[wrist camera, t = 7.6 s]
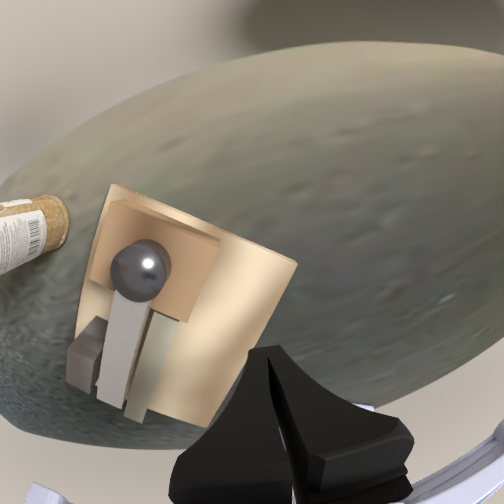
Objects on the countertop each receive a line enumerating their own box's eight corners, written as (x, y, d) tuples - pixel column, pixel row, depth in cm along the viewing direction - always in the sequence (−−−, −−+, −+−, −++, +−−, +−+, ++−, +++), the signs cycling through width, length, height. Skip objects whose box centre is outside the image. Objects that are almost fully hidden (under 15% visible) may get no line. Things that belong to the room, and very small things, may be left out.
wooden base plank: (294, 260, 20) (319, 290, 14) (206, 420, 23) (204, 467, 17) (116, 183, 18) (74, 185, 12) (75, 366, 21) (49, 404, 15)
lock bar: (131, 230, 15) (118, 237, 13) (178, 250, 15) (171, 260, 13) (97, 382, 17) (88, 398, 15) (132, 398, 17) (126, 415, 15)
